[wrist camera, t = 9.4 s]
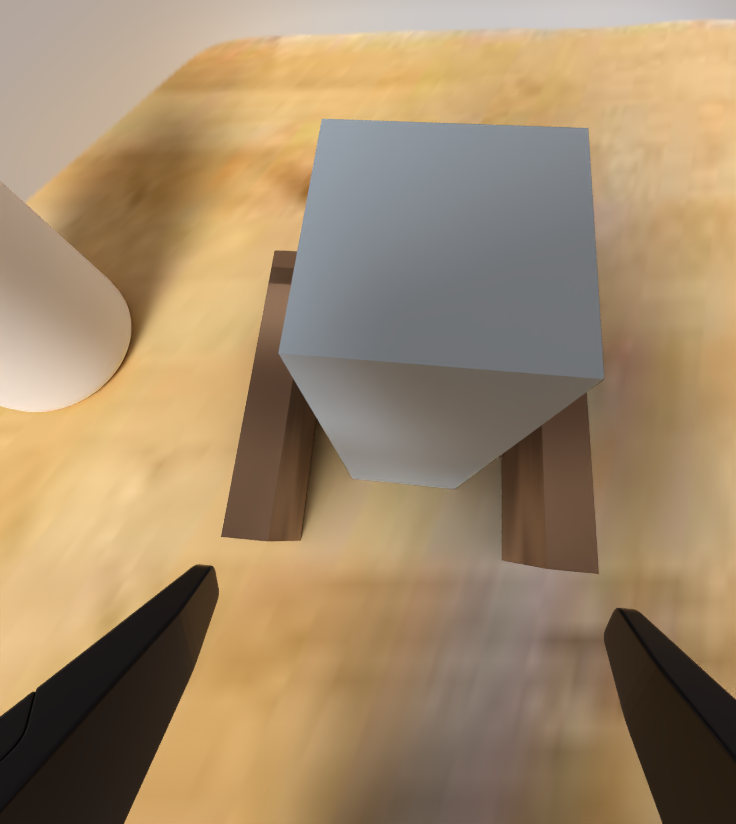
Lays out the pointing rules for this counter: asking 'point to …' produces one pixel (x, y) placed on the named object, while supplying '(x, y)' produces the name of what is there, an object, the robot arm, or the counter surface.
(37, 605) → the counter surface
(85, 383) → the pill bottle
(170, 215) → the counter surface
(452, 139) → the block
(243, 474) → the brown wooden tray
